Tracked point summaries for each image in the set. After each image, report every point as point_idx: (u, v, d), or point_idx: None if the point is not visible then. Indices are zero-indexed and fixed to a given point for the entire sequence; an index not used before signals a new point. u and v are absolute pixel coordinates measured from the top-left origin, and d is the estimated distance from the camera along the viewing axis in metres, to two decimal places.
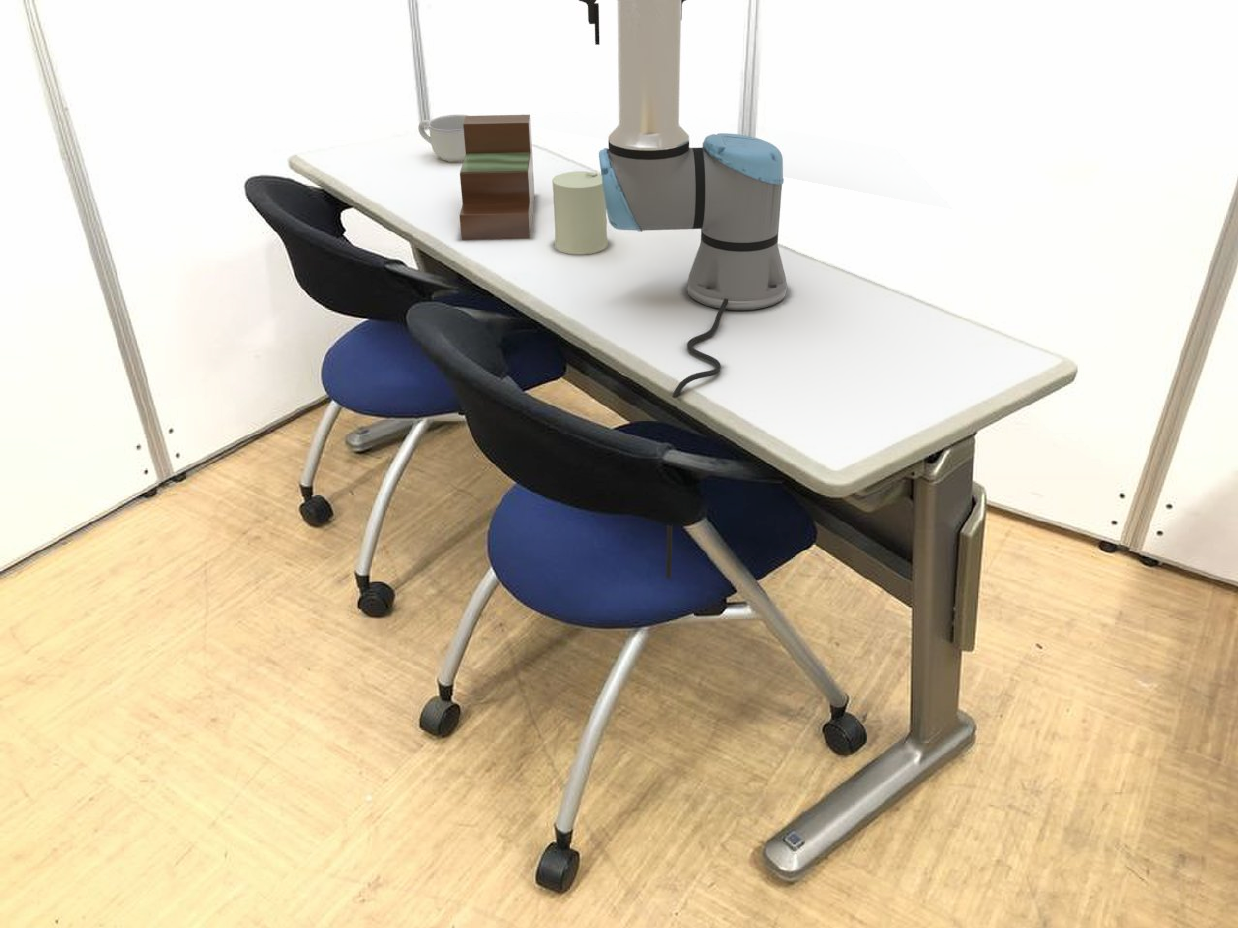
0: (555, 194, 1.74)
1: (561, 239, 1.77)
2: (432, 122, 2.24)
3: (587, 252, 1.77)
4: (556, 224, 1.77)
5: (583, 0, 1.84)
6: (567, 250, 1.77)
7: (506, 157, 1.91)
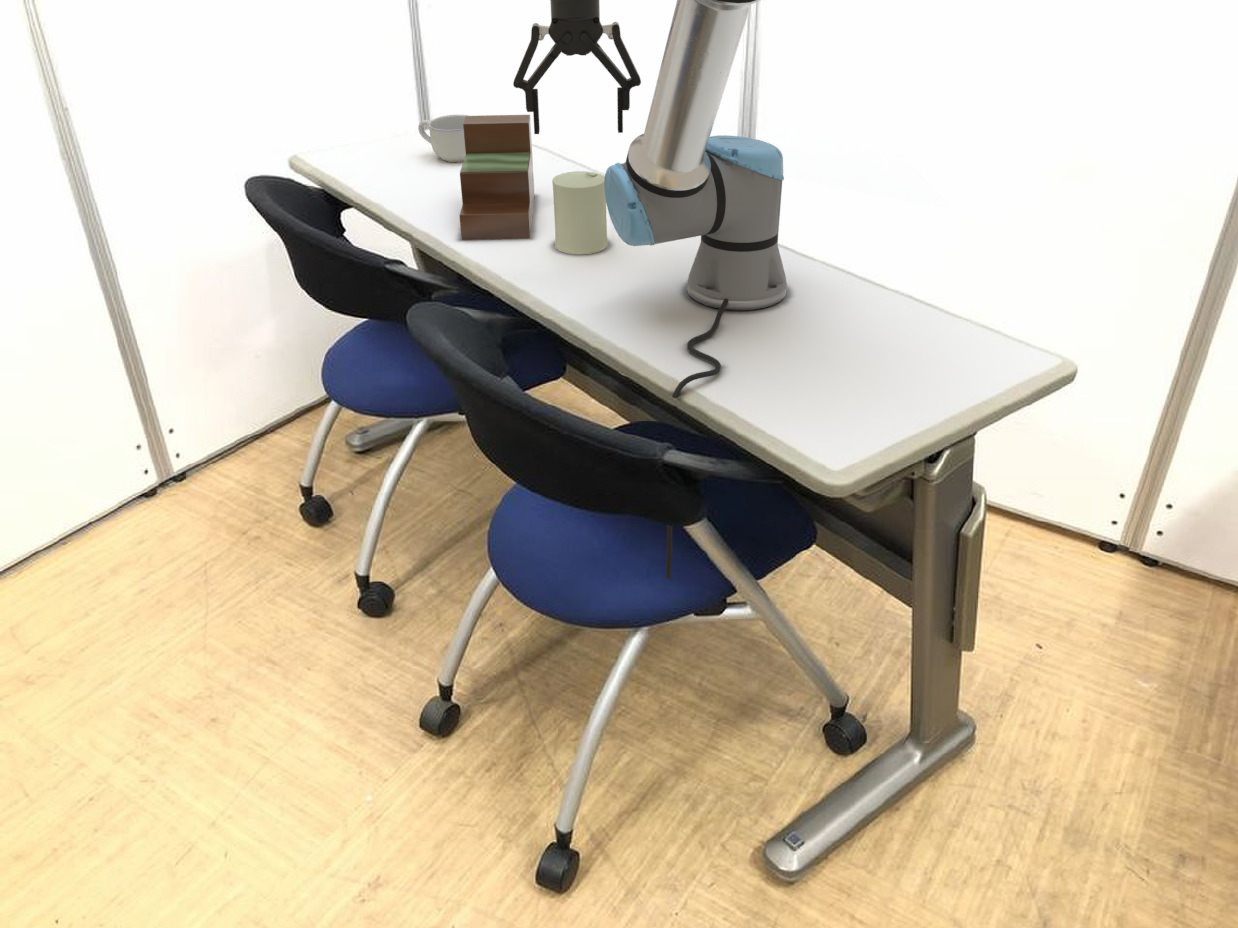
0: (555, 194, 1.74)
1: (561, 239, 1.77)
2: (432, 122, 2.24)
3: (587, 252, 1.77)
4: (556, 224, 1.77)
5: (520, 86, 1.66)
6: (567, 250, 1.77)
7: (506, 157, 1.91)
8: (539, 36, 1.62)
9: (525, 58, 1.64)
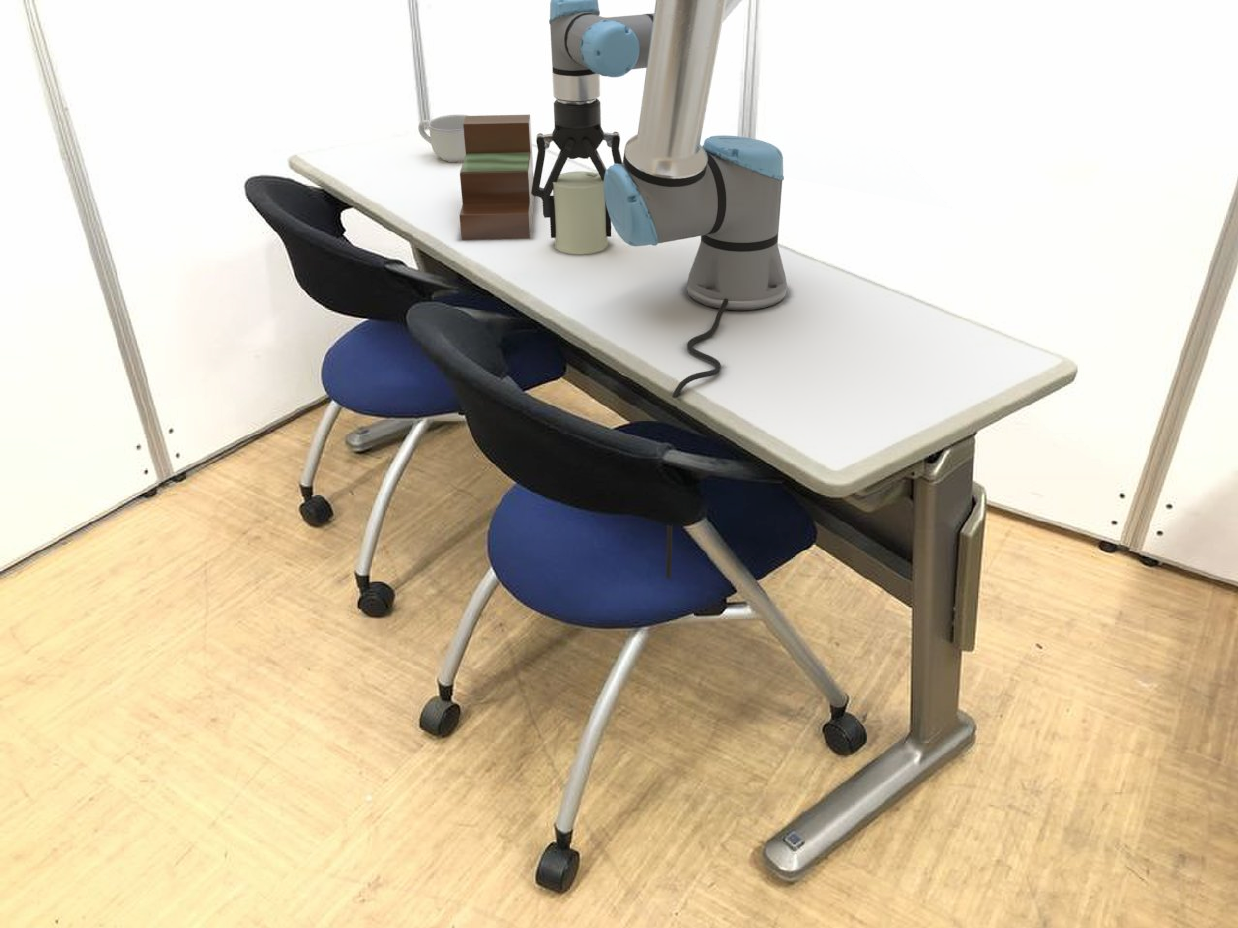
0: (555, 194, 1.74)
1: (561, 239, 1.77)
2: (432, 122, 2.24)
3: (587, 252, 1.77)
4: (556, 224, 1.77)
5: (538, 194, 1.75)
6: (567, 250, 1.77)
7: (506, 157, 1.91)
8: (545, 145, 1.70)
9: (536, 168, 1.72)
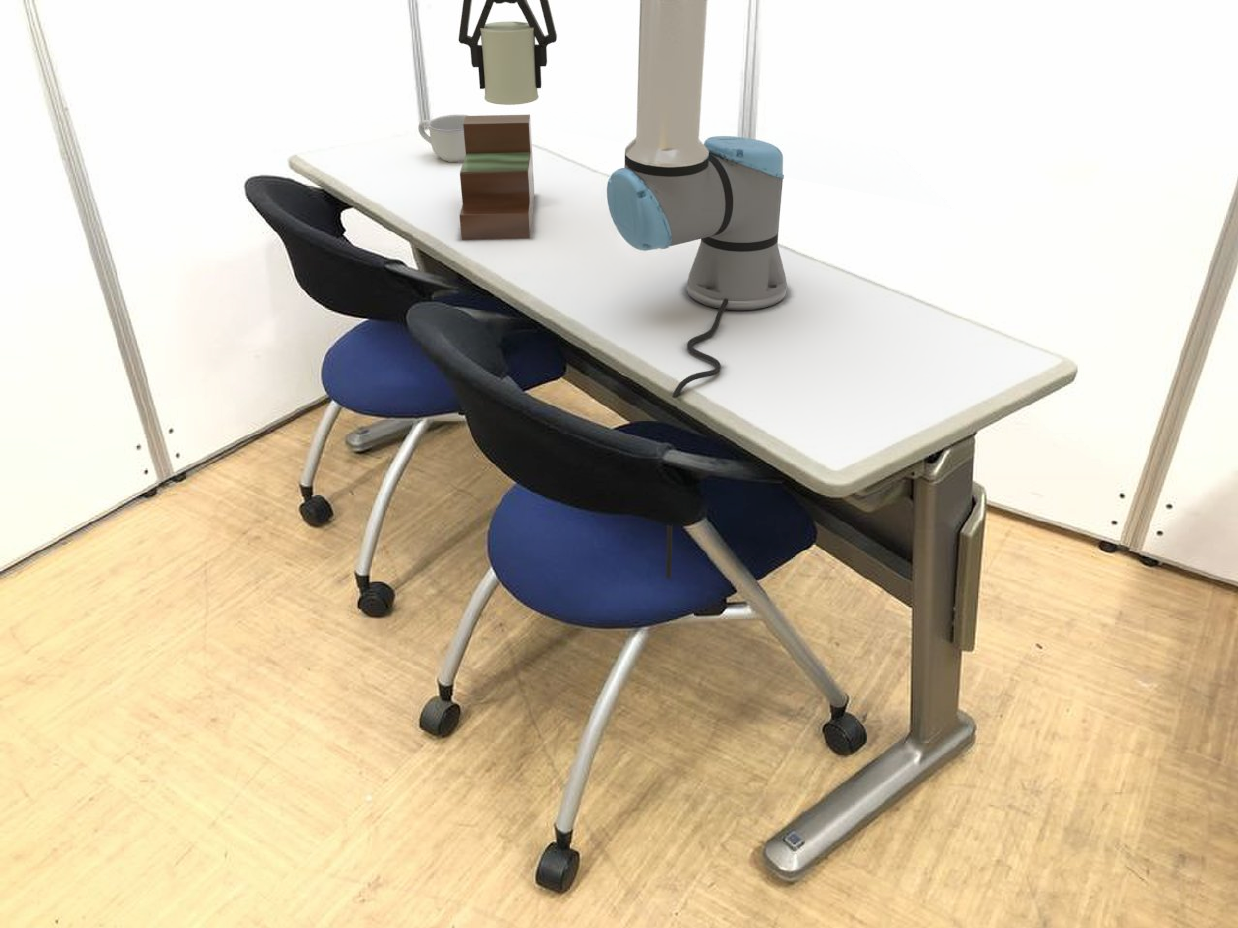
0: (482, 41, 1.72)
1: (489, 89, 1.75)
2: (432, 122, 2.24)
3: (516, 102, 1.75)
4: (485, 74, 1.75)
5: (465, 41, 1.73)
6: (496, 100, 1.75)
7: (506, 157, 1.91)
8: None
9: (463, 13, 1.70)
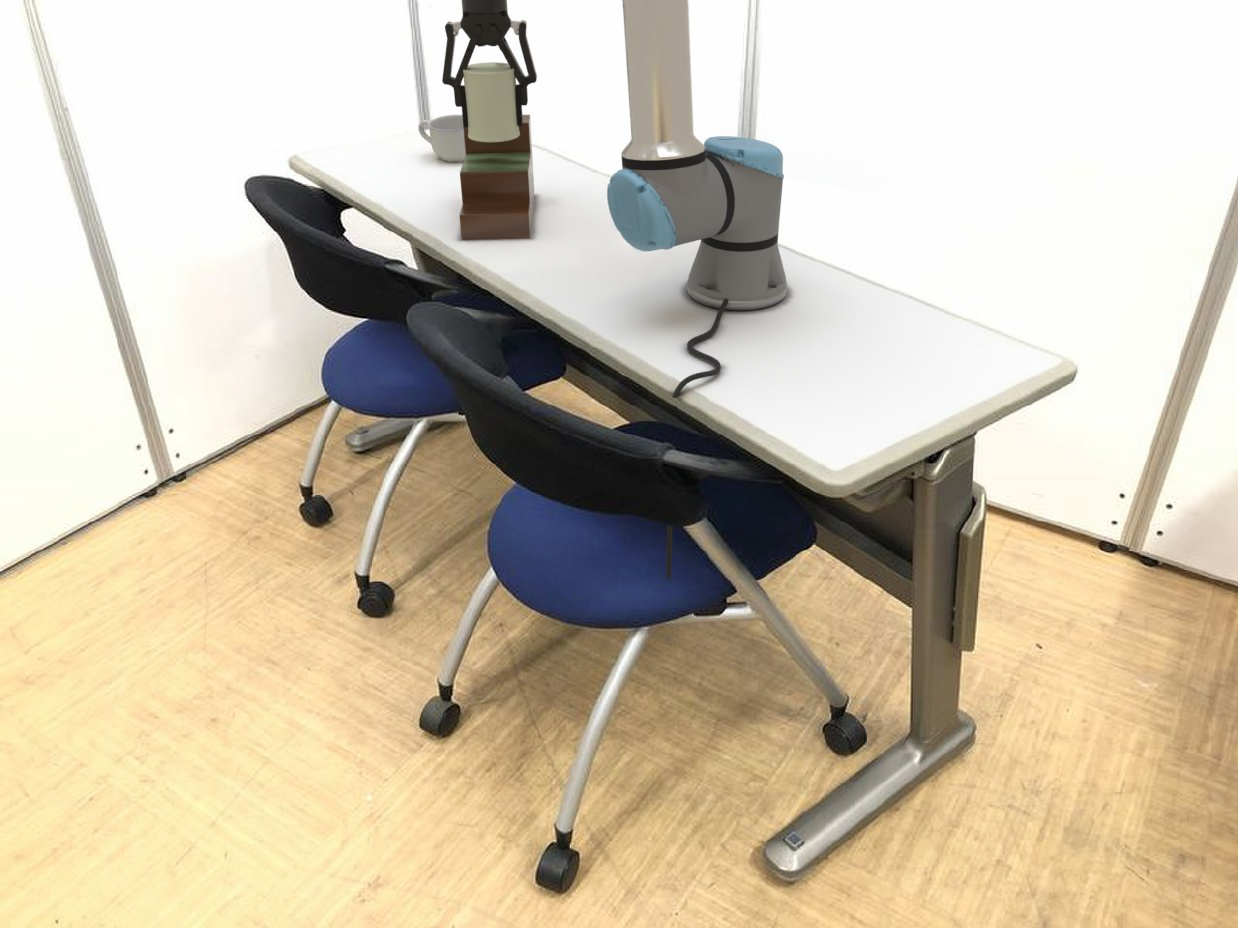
0: (465, 82, 1.79)
1: (472, 127, 1.82)
2: (432, 122, 2.24)
3: (498, 140, 1.82)
4: (468, 113, 1.82)
5: (449, 82, 1.80)
6: (478, 138, 1.82)
7: (506, 157, 1.91)
8: (453, 32, 1.76)
9: (446, 55, 1.77)
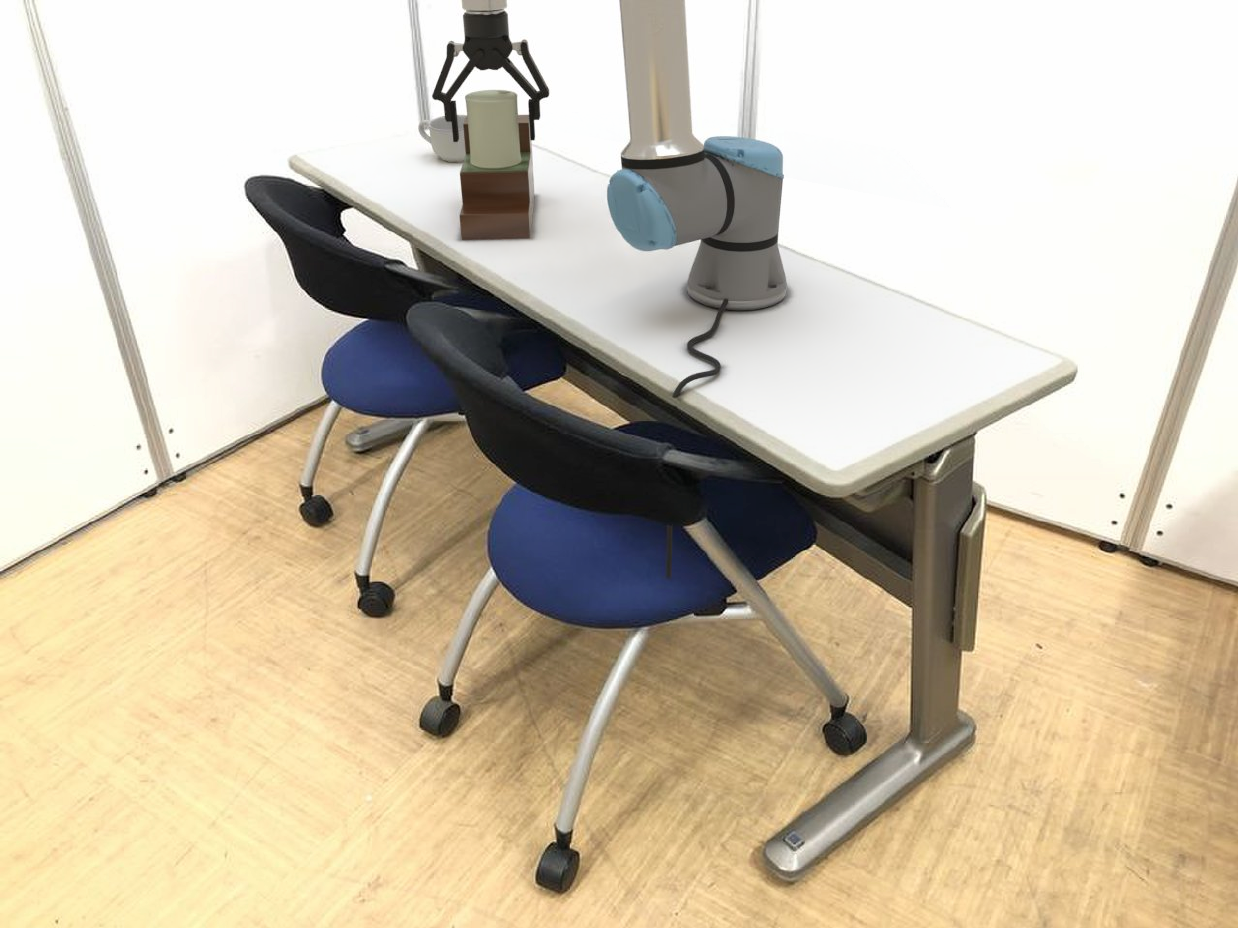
0: (468, 109, 1.82)
1: (474, 154, 1.85)
2: (432, 122, 2.24)
3: (499, 166, 1.85)
4: (470, 140, 1.85)
5: (438, 98, 1.82)
6: (480, 165, 1.85)
7: None
8: (454, 53, 1.77)
9: (442, 73, 1.79)
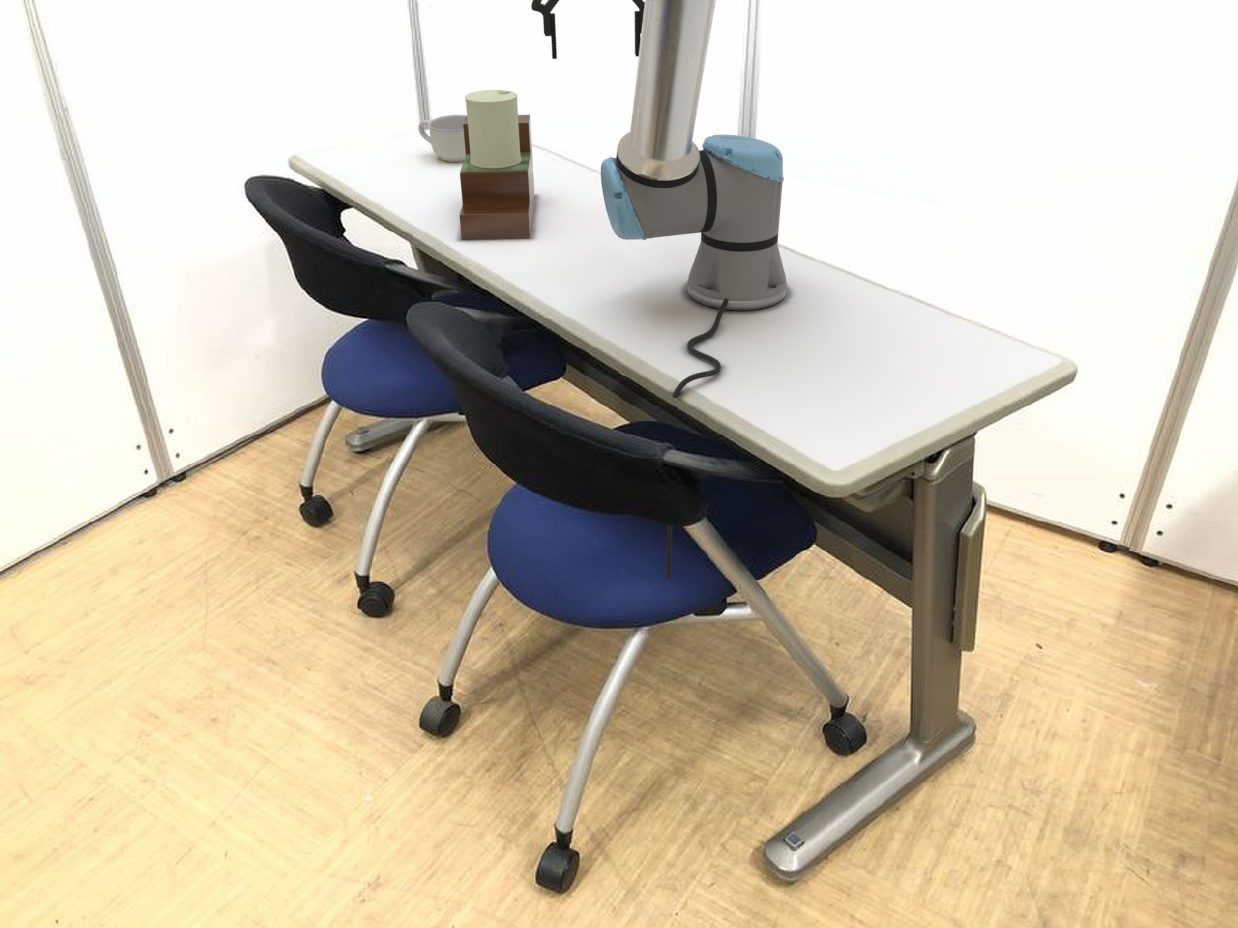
0: (468, 109, 1.82)
1: (474, 154, 1.85)
2: (432, 122, 2.24)
3: (499, 166, 1.85)
4: (470, 140, 1.85)
5: (537, 10, 1.66)
6: (480, 165, 1.85)
7: None
8: None
9: None
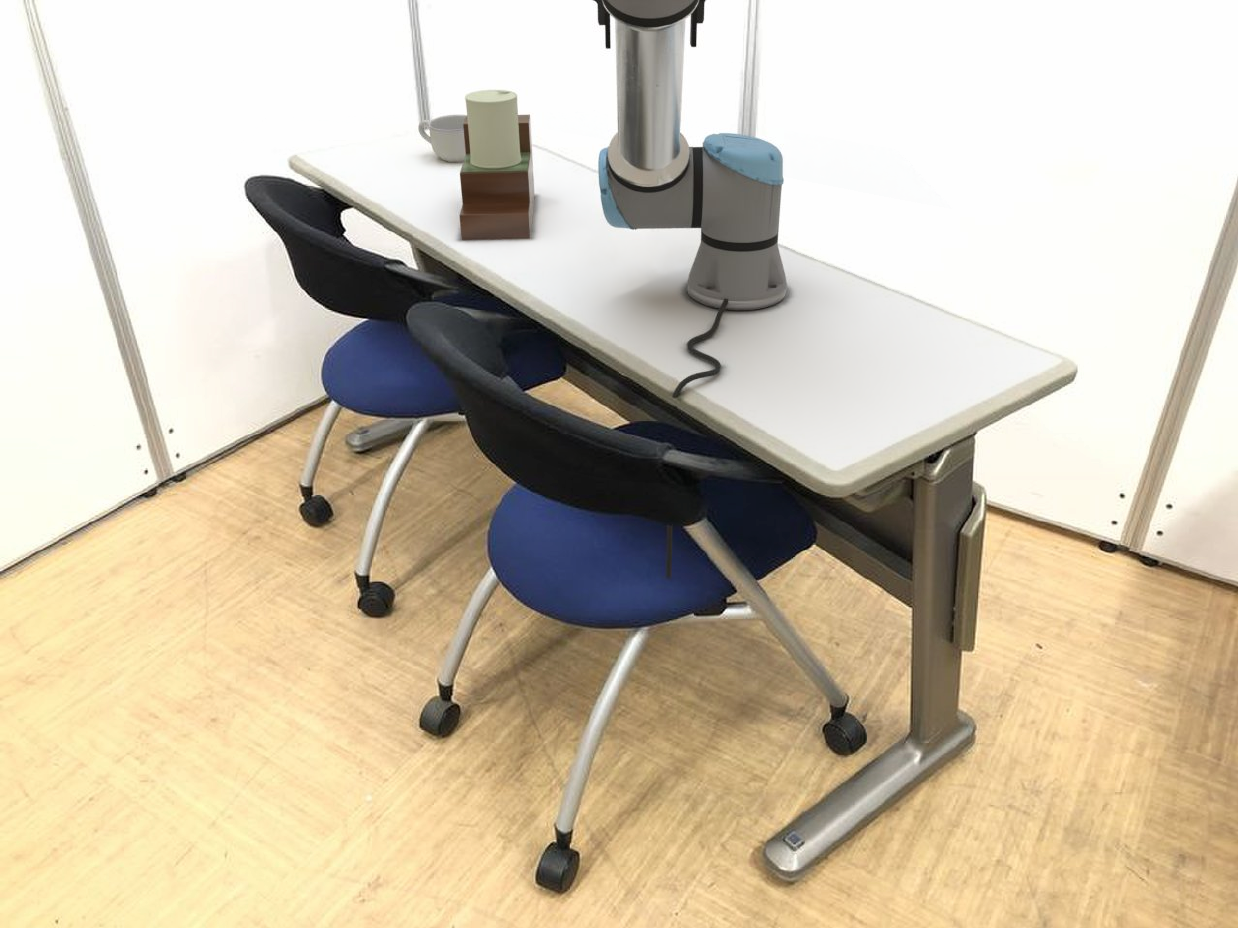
0: (468, 109, 1.82)
1: (474, 154, 1.85)
2: (432, 122, 2.24)
3: (499, 166, 1.85)
4: (470, 140, 1.85)
5: None
6: (480, 165, 1.85)
7: None
8: None
9: None
